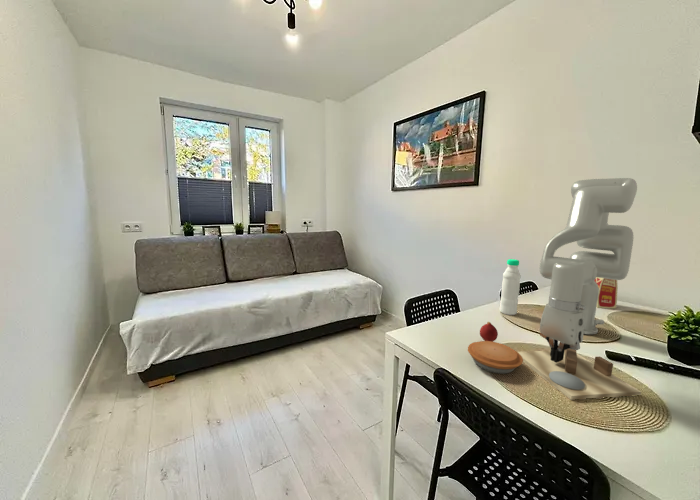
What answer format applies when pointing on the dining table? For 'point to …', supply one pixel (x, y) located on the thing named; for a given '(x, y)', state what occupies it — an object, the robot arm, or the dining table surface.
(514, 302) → the white milk bottle
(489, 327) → the onion
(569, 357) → the leg
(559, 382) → the felt pad
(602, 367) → the block
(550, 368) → the board
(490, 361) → the pie
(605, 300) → the milk carton
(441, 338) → the dining table surface
